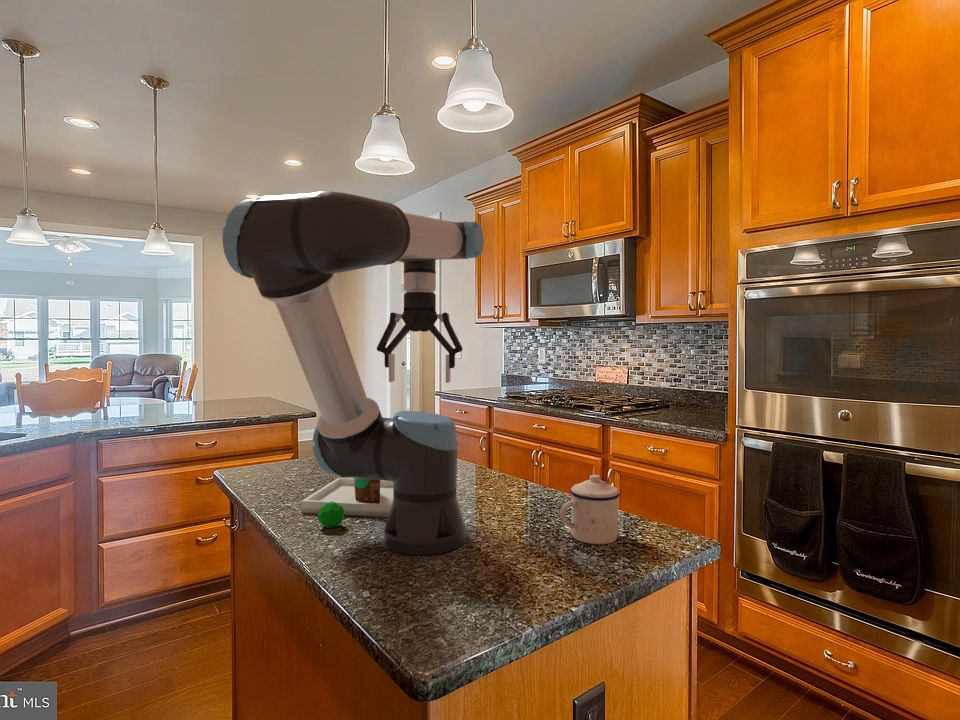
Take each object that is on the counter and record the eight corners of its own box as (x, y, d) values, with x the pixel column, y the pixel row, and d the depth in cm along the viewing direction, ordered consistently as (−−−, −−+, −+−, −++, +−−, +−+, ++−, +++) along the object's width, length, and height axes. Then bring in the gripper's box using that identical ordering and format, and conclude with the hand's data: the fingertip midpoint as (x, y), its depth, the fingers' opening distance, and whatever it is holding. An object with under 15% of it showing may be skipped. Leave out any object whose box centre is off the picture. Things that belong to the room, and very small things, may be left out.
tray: (390, 517, 112) (390, 505, 112) (301, 512, 115) (301, 500, 115) (414, 491, 131) (414, 481, 131) (338, 487, 134) (338, 477, 134)
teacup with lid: (599, 525, 108) (600, 468, 108) (629, 541, 100) (630, 479, 99) (547, 534, 103) (548, 473, 103) (574, 551, 95) (575, 485, 94)
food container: (348, 492, 127) (348, 450, 127) (374, 490, 129) (374, 448, 128) (351, 507, 115) (351, 461, 115) (380, 505, 117) (380, 459, 116)
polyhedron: (341, 531, 104) (341, 506, 104) (315, 531, 104) (315, 507, 104) (346, 522, 109) (346, 499, 109) (321, 522, 109) (321, 499, 109)
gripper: (473, 293, 130) (473, 381, 130) (372, 293, 132) (373, 379, 133) (470, 290, 122) (470, 383, 123) (363, 291, 124) (363, 382, 125)
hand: (419, 382), depth 128 cm, fingers open, 13 cm apart
